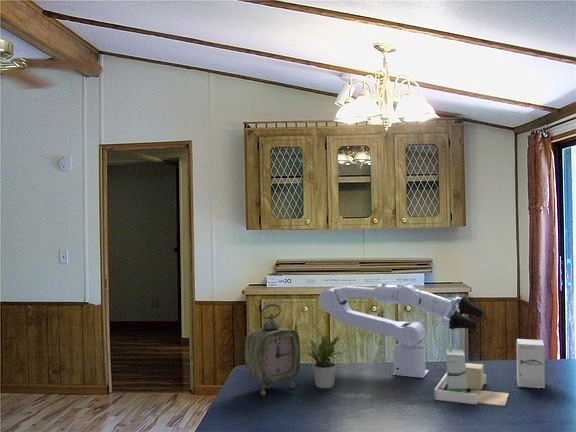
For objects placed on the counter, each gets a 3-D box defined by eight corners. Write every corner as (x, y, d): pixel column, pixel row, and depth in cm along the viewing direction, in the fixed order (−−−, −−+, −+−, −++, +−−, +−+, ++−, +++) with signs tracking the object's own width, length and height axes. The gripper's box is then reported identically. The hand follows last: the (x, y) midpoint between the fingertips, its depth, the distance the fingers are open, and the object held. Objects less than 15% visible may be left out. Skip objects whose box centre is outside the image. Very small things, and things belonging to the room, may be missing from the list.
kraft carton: (463, 388, 175) (462, 367, 175) (465, 383, 180) (465, 363, 179) (481, 389, 173) (481, 368, 173) (483, 385, 177) (483, 364, 177)
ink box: (468, 399, 164) (465, 355, 164) (449, 399, 165) (446, 355, 165) (465, 389, 173) (462, 347, 173) (447, 389, 174) (445, 348, 174)
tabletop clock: (261, 399, 168) (259, 308, 168) (242, 391, 175) (240, 305, 175) (301, 388, 177) (299, 302, 177) (281, 381, 184) (280, 299, 184)
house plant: (360, 390, 174) (359, 333, 174) (316, 396, 169) (315, 338, 169) (338, 377, 188) (337, 324, 187) (297, 383, 183) (296, 328, 182)
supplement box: (517, 387, 174) (517, 343, 174) (516, 380, 181) (516, 338, 181) (545, 389, 172) (544, 345, 172) (543, 382, 179) (542, 339, 179)
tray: (434, 399, 165) (433, 389, 165) (447, 379, 183) (447, 370, 183) (476, 404, 160) (476, 394, 160) (486, 383, 179) (485, 374, 179)
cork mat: (465, 401, 163) (465, 401, 163) (471, 390, 173) (471, 389, 173) (505, 406, 158) (505, 405, 158) (508, 394, 168) (508, 393, 168)
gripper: (430, 304, 179) (476, 320, 173) (444, 283, 191) (488, 297, 185) (426, 324, 182) (471, 340, 176) (440, 302, 194) (483, 317, 188)
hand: (479, 320), depth 181 cm, fingers open, 7 cm apart
